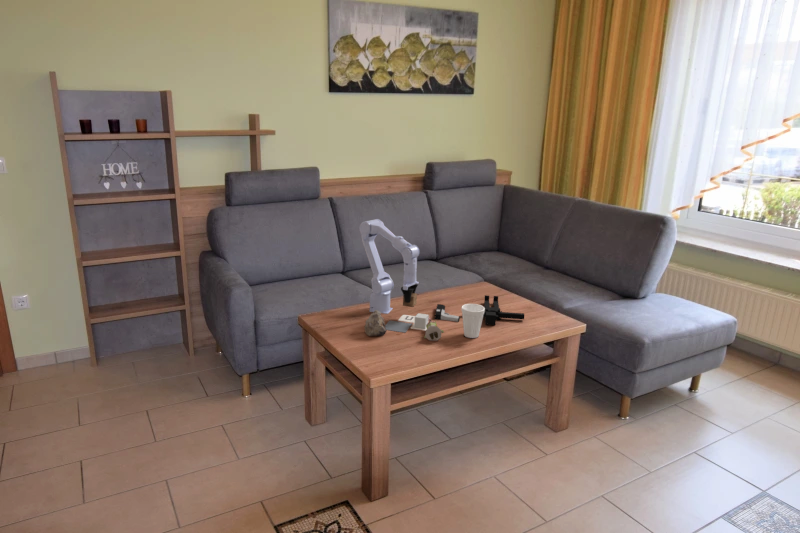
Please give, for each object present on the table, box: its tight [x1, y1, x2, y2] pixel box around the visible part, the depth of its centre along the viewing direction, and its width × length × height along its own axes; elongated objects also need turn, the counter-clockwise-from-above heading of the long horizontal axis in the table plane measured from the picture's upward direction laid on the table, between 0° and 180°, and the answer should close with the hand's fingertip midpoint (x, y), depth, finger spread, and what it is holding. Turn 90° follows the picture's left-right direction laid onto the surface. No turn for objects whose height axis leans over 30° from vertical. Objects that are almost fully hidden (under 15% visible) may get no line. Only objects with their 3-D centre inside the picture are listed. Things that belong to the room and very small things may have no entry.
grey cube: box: [414, 312, 430, 329], centre depth 250 cm, size 5×5×5 cm
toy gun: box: [433, 303, 461, 323], centre depth 265 cm, size 3×16×12 cm
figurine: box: [423, 316, 445, 341], centre depth 241 cm, size 9×7×15 cm
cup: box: [461, 303, 485, 339], centre depth 241 cm, size 10×10×13 cm
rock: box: [364, 310, 387, 337], centre depth 241 cm, size 9×12×10 cm
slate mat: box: [385, 320, 413, 334], centre depth 250 cm, size 11×11×1 cm
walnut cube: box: [402, 292, 418, 308], centre depth 257 cm, size 5×5×5 cm
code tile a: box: [397, 314, 416, 324], centre depth 260 cm, size 8×8×1 cm
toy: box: [483, 294, 525, 326], centre depth 268 cm, size 28×6×30 cm
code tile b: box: [410, 323, 427, 332], centre depth 251 cm, size 8×8×1 cm
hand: (409, 300), depth 257 cm, fingers closed on walnut cube, 5 cm apart
